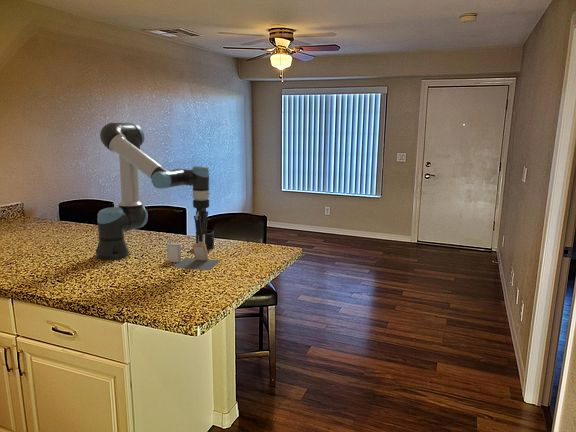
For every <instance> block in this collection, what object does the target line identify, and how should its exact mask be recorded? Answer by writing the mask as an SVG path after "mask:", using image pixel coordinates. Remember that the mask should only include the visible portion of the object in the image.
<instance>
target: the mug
mask: <svg viewBox="0 0 576 432" xmlns="http://www.w3.org/2000/svg"><path fill="white" fill-rule="evenodd" d="M206 232H207V234H205V244H206V248H207V251H208V250H214V249H215V231H213V230H209V229H207V231H206ZM195 243H198V235H196V234H195Z"/></svg>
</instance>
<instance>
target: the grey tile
mask: <svg viewBox="0 0 576 432" xmlns="http://www.w3.org/2000/svg"><path fill="white" fill-rule="evenodd" d="M181 246H182V245H181V244H180V243H171V242H170V243H167V244H166V248H167V249H166V253H167V262H170V263H171V262H172V263H179V262H181V261H182V247H181Z"/></svg>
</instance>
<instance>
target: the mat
mask: <svg viewBox="0 0 576 432" xmlns="http://www.w3.org/2000/svg"><path fill="white" fill-rule="evenodd" d="M221 261H222V260H221V259H210V258H209V259H208V261H198V260H195V257H184V258H183V259H181V262H177V263H176V264H175V265H174V266H172V268H173V269H174V268H175V269H185V270H197V271H198V270H200V271H211V270H212V269H214V268H215V267H216V266H217V265H218V264H219V263H220V262H221Z"/></svg>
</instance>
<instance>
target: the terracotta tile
mask: <svg viewBox="0 0 576 432" xmlns="http://www.w3.org/2000/svg"><path fill="white" fill-rule="evenodd" d="M191 247H192V250H193V256H194V258H195V260H198V261H208V259H210V258H209V255H208V253H209V252H208V250H207V248H206V244H201V243H196V242H193V243H192V245H191Z"/></svg>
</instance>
